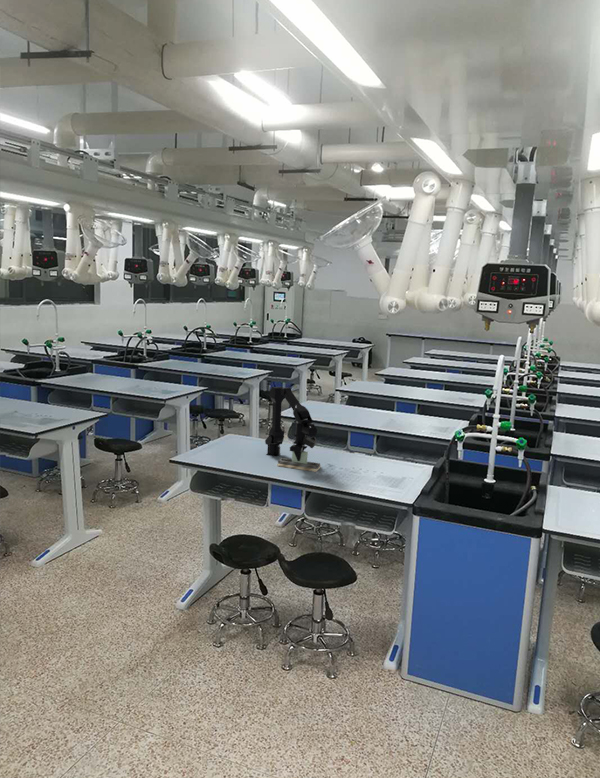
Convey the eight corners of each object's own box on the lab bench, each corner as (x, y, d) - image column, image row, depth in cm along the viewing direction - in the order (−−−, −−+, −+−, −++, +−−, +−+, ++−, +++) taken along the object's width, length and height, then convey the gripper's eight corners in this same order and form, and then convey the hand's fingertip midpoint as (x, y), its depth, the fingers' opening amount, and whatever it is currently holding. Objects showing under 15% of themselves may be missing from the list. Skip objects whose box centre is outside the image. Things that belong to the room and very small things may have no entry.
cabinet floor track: (277, 465, 311) (277, 461, 311) (282, 461, 320) (282, 457, 319) (316, 471, 305) (316, 467, 305) (320, 467, 314) (320, 462, 313)
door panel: (291, 463, 312) (292, 450, 311) (292, 462, 314) (293, 449, 313) (305, 465, 310) (306, 452, 309) (307, 464, 312) (307, 451, 311)
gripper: (310, 438, 298) (308, 467, 301) (319, 430, 316) (318, 457, 319) (290, 435, 301) (288, 464, 304) (300, 427, 319) (298, 454, 322)
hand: (299, 460), depth 312 cm, fingers closed on door panel, 2 cm apart
